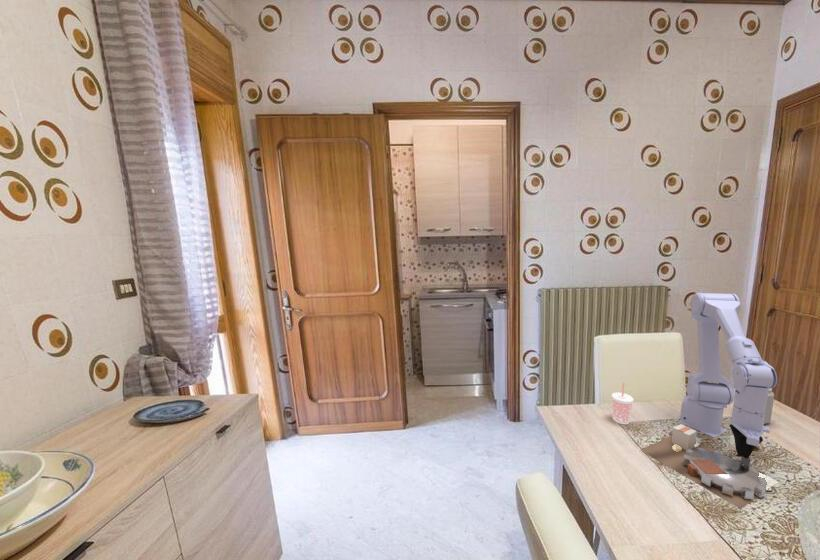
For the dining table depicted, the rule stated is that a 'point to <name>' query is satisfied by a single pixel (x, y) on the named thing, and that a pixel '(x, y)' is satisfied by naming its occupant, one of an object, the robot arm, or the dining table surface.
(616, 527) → the dining table surface
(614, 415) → the beverage cup
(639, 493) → the dining table surface
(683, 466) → the board
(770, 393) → the can
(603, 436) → the dining table surface
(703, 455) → the sprocket
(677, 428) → the link block
